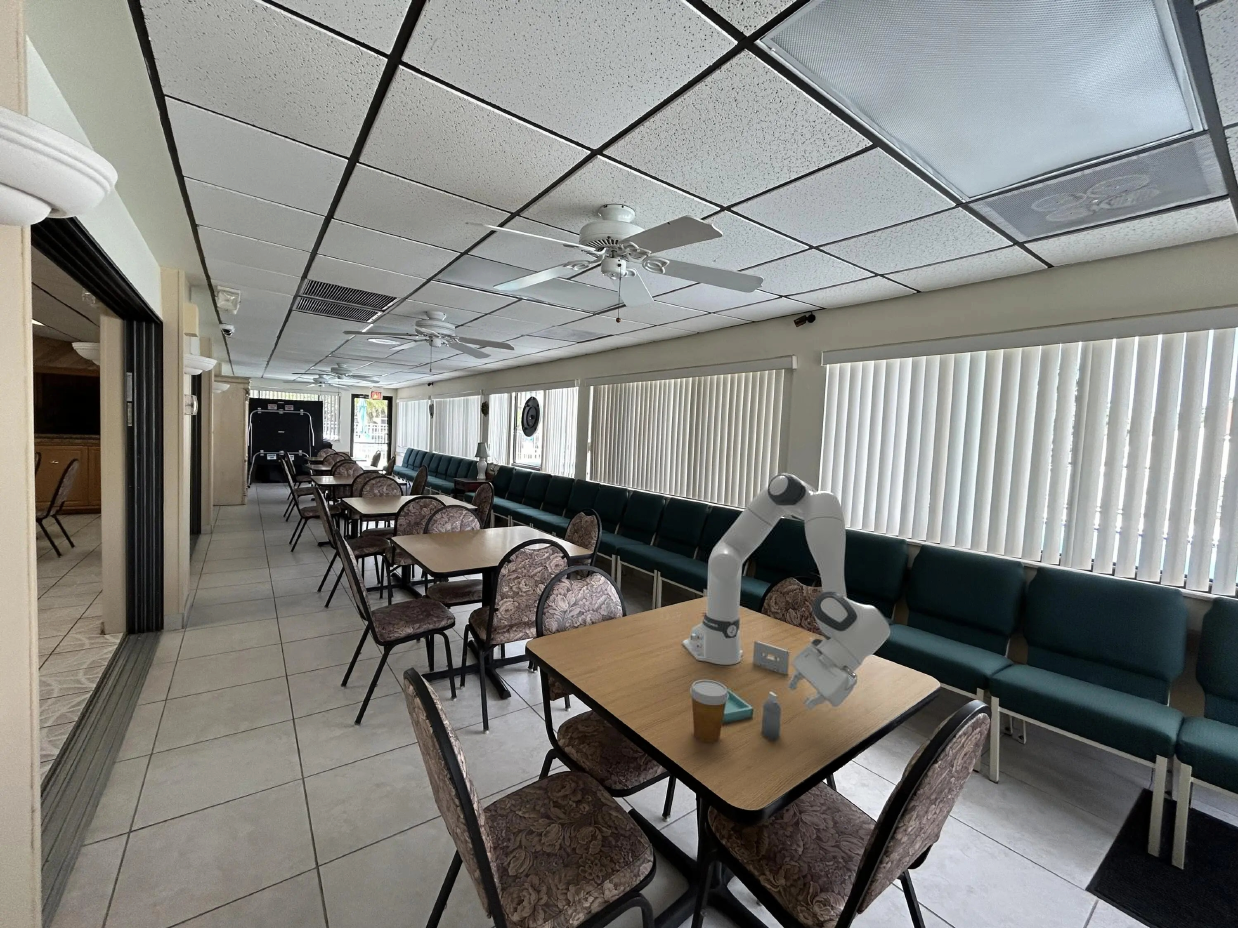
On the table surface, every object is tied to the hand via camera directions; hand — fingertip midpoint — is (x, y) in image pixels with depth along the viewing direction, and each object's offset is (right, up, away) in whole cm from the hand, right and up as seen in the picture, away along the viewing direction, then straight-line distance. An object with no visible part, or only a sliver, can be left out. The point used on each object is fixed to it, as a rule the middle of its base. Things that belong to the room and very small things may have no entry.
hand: (797, 696), depth 126 cm
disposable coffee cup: (-23, -9, -1) cm, 25 cm away
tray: (-16, -9, +12) cm, 22 cm away
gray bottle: (-7, -10, +1) cm, 12 cm away
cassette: (+5, -10, +40) cm, 42 cm away
